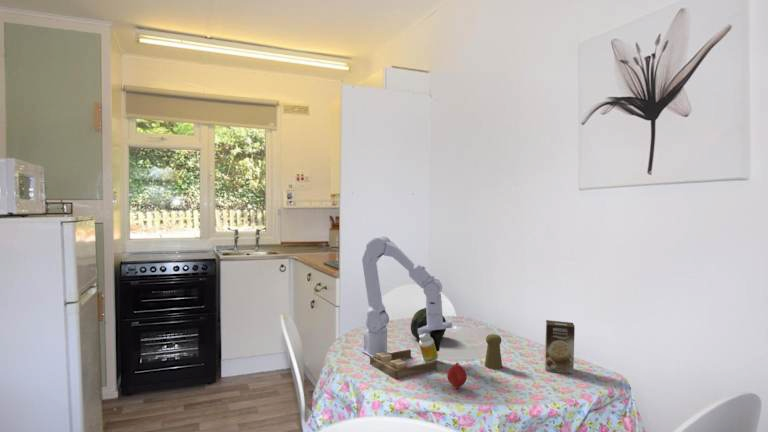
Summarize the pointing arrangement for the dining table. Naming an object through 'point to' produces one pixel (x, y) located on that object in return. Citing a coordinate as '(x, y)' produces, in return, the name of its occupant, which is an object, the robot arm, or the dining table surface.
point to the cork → (493, 352)
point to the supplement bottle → (428, 348)
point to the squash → (420, 322)
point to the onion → (457, 376)
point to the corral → (402, 371)
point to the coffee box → (559, 347)
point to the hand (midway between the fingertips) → (436, 350)
